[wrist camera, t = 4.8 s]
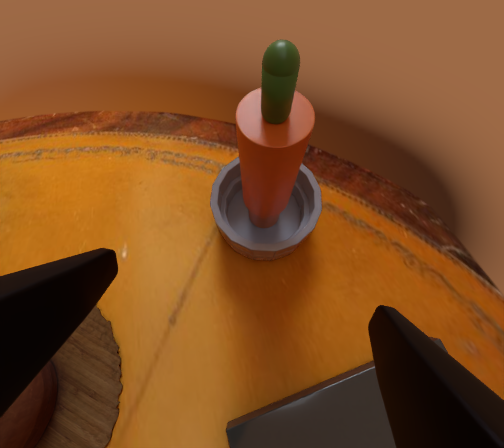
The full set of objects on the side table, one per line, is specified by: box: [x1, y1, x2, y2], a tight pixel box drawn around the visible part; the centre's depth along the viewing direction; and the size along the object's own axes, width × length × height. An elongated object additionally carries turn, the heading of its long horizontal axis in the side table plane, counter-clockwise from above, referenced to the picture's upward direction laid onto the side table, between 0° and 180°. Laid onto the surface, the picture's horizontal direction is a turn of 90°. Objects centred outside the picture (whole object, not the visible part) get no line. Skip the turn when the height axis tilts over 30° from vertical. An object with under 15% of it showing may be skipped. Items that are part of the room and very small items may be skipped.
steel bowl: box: [210, 157, 322, 261], centre depth 21 cm, size 9×9×4 cm
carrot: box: [235, 40, 315, 228], centre depth 15 cm, size 4×4×16 cm
